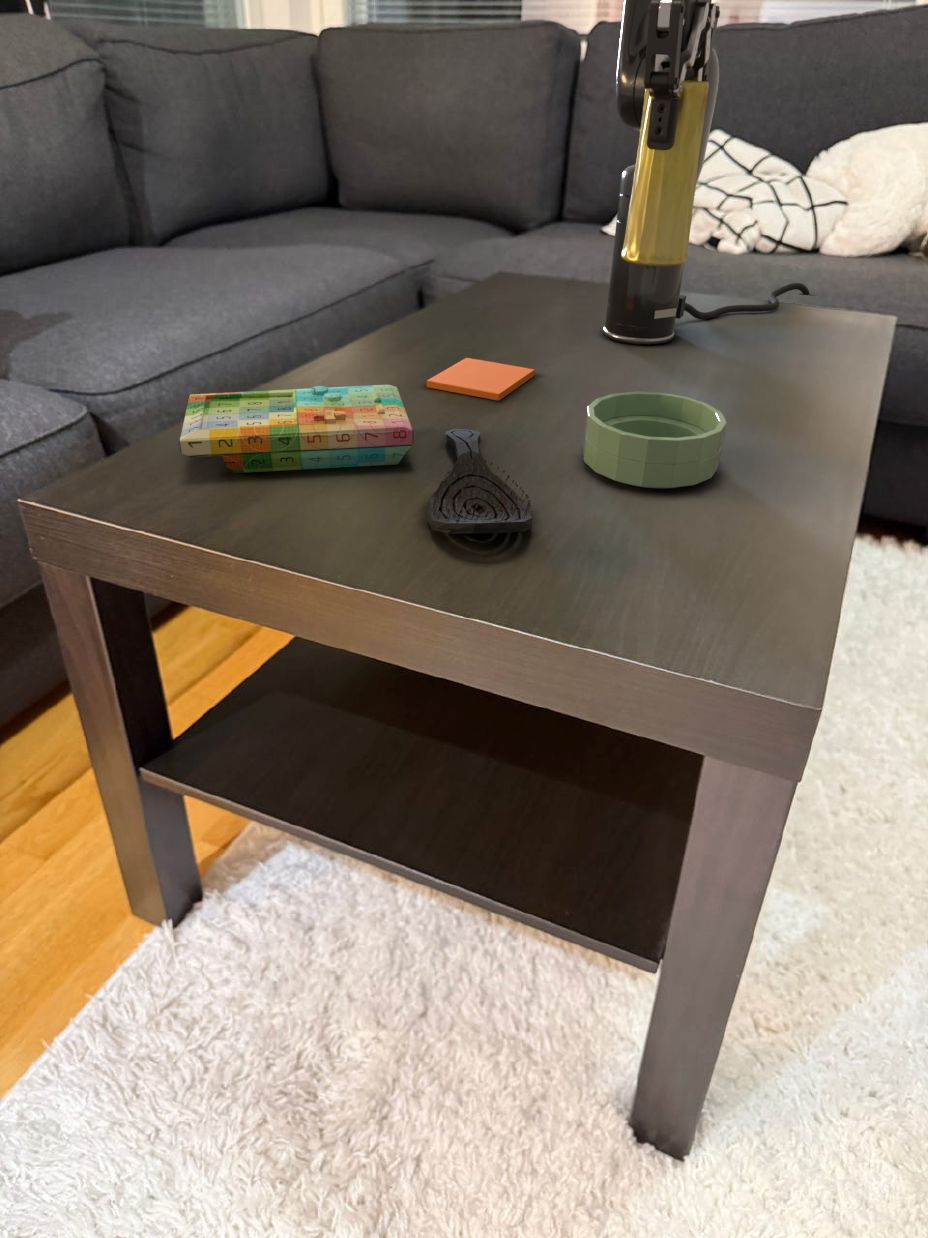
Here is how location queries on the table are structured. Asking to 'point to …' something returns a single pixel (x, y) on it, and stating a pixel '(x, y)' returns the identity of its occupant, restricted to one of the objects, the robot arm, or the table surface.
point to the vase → (666, 186)
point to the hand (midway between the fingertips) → (668, 145)
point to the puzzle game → (298, 428)
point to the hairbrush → (475, 494)
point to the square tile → (481, 378)
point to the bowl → (653, 439)
